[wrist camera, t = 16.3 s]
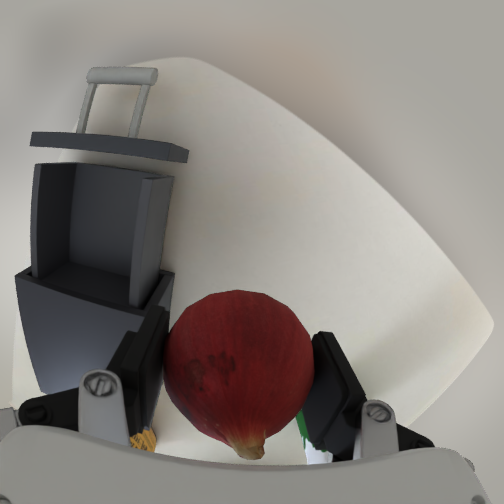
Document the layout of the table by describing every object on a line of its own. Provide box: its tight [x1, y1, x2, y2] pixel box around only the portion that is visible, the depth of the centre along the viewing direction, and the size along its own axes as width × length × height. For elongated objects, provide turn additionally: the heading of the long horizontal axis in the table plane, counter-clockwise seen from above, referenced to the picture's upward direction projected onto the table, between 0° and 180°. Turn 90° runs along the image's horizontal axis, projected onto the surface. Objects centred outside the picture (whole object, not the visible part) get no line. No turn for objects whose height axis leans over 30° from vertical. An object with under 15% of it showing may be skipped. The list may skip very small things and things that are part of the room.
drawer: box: [30, 67, 189, 310], centre depth 20 cm, size 20×13×7 cm, turn 167°
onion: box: [163, 290, 315, 460], centre depth 10 cm, size 6×6×8 cm
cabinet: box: [15, 266, 175, 431], centre depth 24 cm, size 15×14×9 cm
